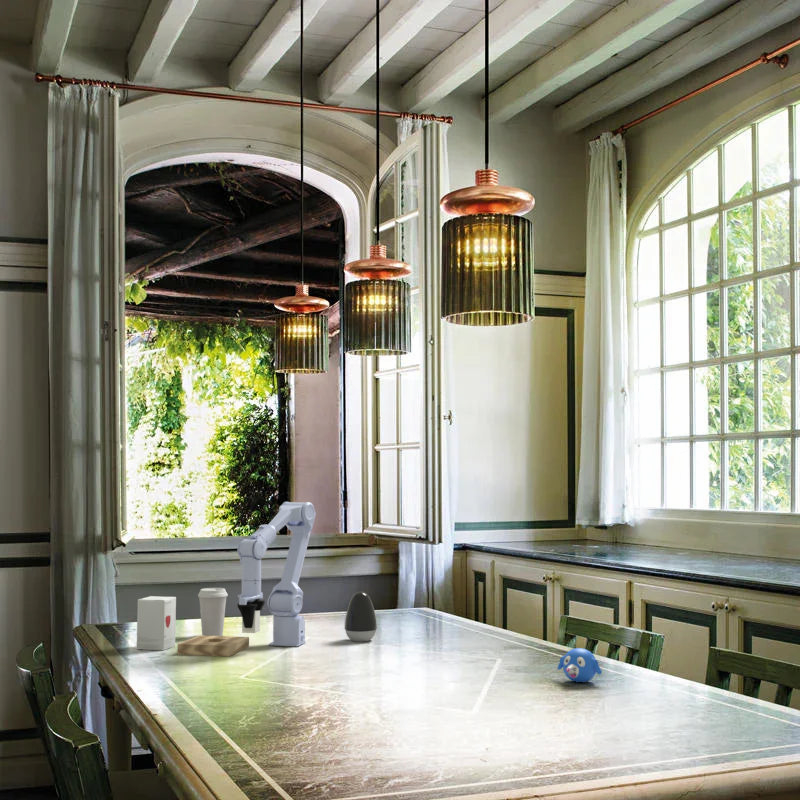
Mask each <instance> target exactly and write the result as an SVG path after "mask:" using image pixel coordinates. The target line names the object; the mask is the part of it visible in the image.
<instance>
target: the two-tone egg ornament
mask: <svg viewBox="0 0 800 800" xmlns="http://www.w3.org/2000/svg"><path fill="white" fill-rule="evenodd" d="M344 630H345V633H346V636H347V638H348V639H349V640H351V641H353V642H356V641H365V642H369V641H371V640H372V639H373V638H374V637H375V635H376V633H377V632H376V631H377V630H378V623H377V616H376V613H375V608H374V605H373V602H372V600H371V598H370V596H369V594H368V593H366V592H365V591H358V592H357V591H356V592H355V593H354V594H353V595H352V597H351V599H350V601H349V603H348V607H347V610H346V615H345V621H344Z"/></svg>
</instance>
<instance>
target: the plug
mask: <svg viewBox="0 0 800 800" xmlns="http://www.w3.org/2000/svg"><path fill="white" fill-rule="evenodd" d="M241 619H242V620H241V624H242V625H241V628H242V629H241V633H243V634H245V633H246V634H256V633H259V632H260V631H261V613H260V610H255V613H254V619H253V626H252V628H245V627H244V623H243V618H241Z"/></svg>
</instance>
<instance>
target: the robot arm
mask: <svg viewBox="0 0 800 800" xmlns="http://www.w3.org/2000/svg"><path fill="white" fill-rule="evenodd" d="M316 515H317V514H316V510H315V507H314V504H313V503H312V502H310V501H307V502H300V501H299V502H293V501H290V502H289V501H284V502H283V503H282V504H281V505H280V506H279V508H278V513H277V514H276V515H275V516H274V518H272V520H271V521H270V522H269V523H268V524H265V523H264V524H260V525H259V526H258V527H259V528H258V529H257V530H256V531H255V532H254V533H252V534H251V535H250V537H249V538H244V539H242V540H241V542H239V544H238V547H237V555H238V557H239V563H240V565H241V593H240V594H237V598H238V603H237V608H238V610H239V612H240V614H241V617H242V618H243V623H244V627H245V628H252V626H253V619H254V613H255V610H260V614H261V612H262V611H263V610H262V609H263V607H264V605H265V603H267V608H268V609H267V610H268V611H269V612H271V613H270V615H271V616H272V620H273V621H272V642H269V643H268V646H274V647H277V646H278V647H279V646H281V647H299V646H301V645H303V644H305V643H306V621H305V617H304V615H300V613H301V611H302V608H303V604H304V603H303V601H304V600H303V598H304V591H303V590H302V589H301V588H300V586H299V583H300V582H299V581H300V577H301V574H302V571H303V570H302V569H303V565H304V561H305V558H306V557H305V556H306V553H307V548H308V545H309V542H310V537H311V532H312V531H313V527H314V523H315V519H316ZM285 526H286V527H287V529H288V530H289V531H290V532H291V533H292V536H291V540H290V545H289V548H288V552H287V557H286V560H285V564H284V568H283V572H282V576H281V581H280V582H278V583H276V585H274V586H273V587H272V591H271V593H270V594H269V596H268V598H267V602H265V600H264V592H262V559H263V558H264V557H265V555H266V552H267V550H268V547H269V546H270V545H271V544H272V543H273V542H274V541H275V540H276V539H277V533H278V532H279V531H280V530H282V529H284V527H285ZM242 618H241V619H242Z"/></svg>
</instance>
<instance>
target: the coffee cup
mask: <svg viewBox="0 0 800 800" xmlns="http://www.w3.org/2000/svg"><path fill="white" fill-rule="evenodd" d="M228 596H229V595H228V592H227V591H226V588H224V587H207V588H205V587H204V588H201V589H200V590H199V593H198V594H197V597H198V600H199V611H200V621H201V622H200V624H201V626H200V627H201V635H205V636H224V627H225V626H224V625H225V613H226V604H227V603H226V602H227V597H228Z"/></svg>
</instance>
